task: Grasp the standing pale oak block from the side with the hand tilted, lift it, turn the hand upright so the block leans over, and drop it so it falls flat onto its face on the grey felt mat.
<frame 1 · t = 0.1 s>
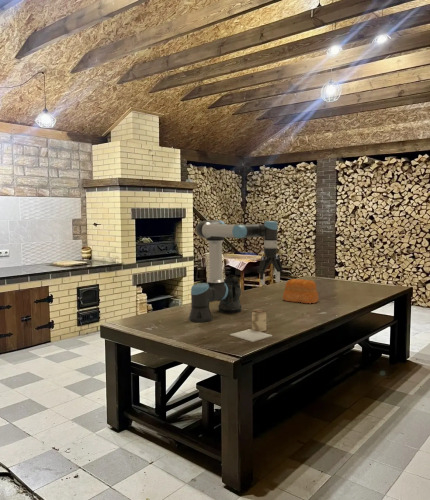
hand: (270, 283, 258), 28 cm above the table, tool pointing down, fingers open, 13 cm apart
bread: (300, 301, 345), on the table
beer stein: (231, 311, 312), on the table
oak block: (259, 330, 261), on the table
felt mat: (251, 335, 250), on the table
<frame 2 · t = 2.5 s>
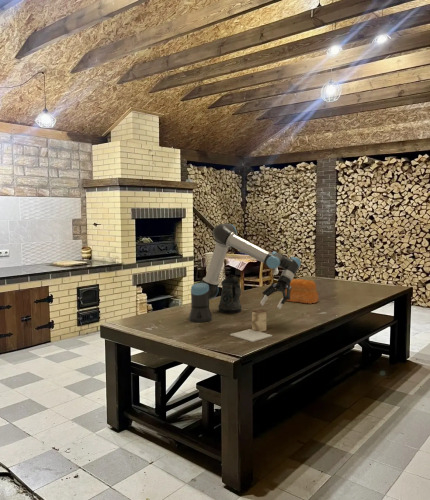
hand: (269, 306, 265), 13 cm above the table, tool tilted 45°, fingers open, 13 cm apart
nothing on the table moved.
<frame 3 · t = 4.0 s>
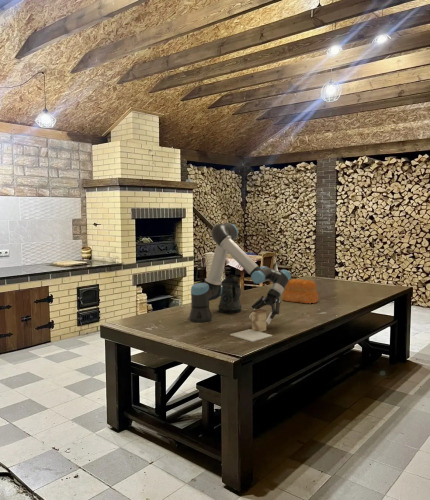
hand: (258, 320, 260), 6 cm above the table, tool tilted 45°, fingers open, 13 cm apart
nothing on the table moved.
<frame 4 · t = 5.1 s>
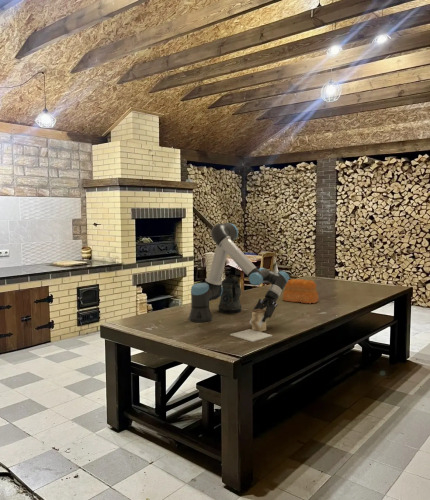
hand: (254, 324, 258), 4 cm above the table, tool tilted 45°, fingers closed on oak block, 6 cm apart
oak block: (259, 330, 261), on the table, touching gripper
everything else where it was.
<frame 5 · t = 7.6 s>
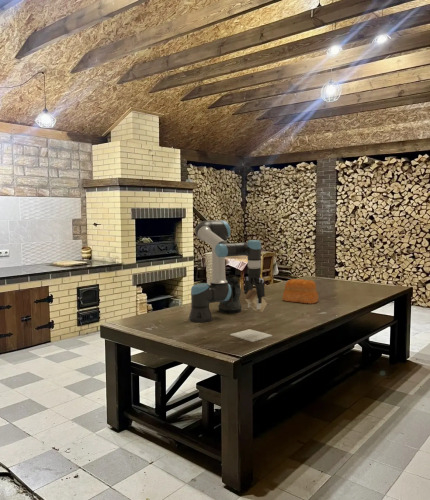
hand: (254, 307, 250), 16 cm above the table, tool pointing down, fingers closed on oak block, 6 cm apart
oak block: (260, 306, 254), point 15 cm above the table, tilted 45°, touching gripper
everything else where it was.
when the fingers open (4 cm above the table, at t = 9.7 s): oak block moves 2 cm and tips over, resting on felt mat.
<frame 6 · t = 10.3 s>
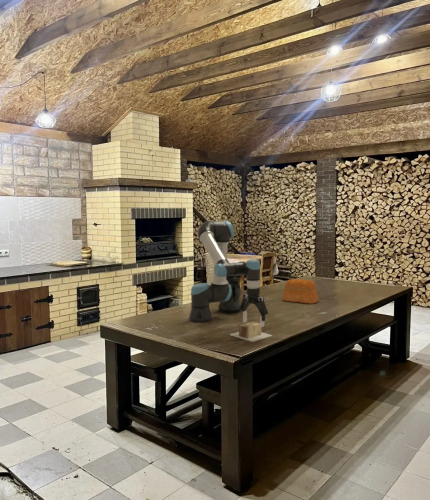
hand: (253, 324, 250), 6 cm above the table, tool pointing down, fingers open, 13 cm apart
oak block: (257, 327, 253), point 4 cm above the table, tilted 90°, touching felt mat
everything else where it was.
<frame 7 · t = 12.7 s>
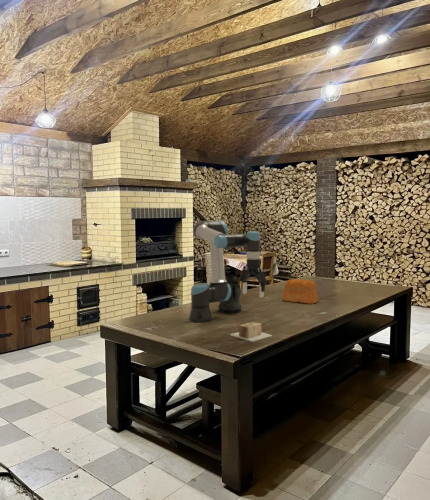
hand: (253, 295, 253), 22 cm above the table, tool pointing down, fingers open, 13 cm apart
nothing on the table moved.
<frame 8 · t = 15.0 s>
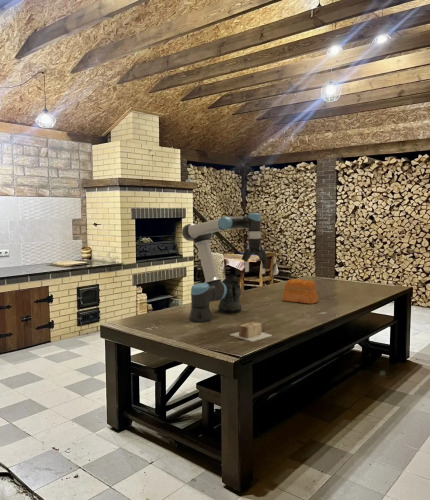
hand: (254, 272, 270), 33 cm above the table, tool pointing down, fingers open, 13 cm apart
nothing on the table moved.
at the end: oak block tilted 90°; oak block inside the target area (5.2 cm from its centre), point 3.6 cm above the table; the gripper is holding nothing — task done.
